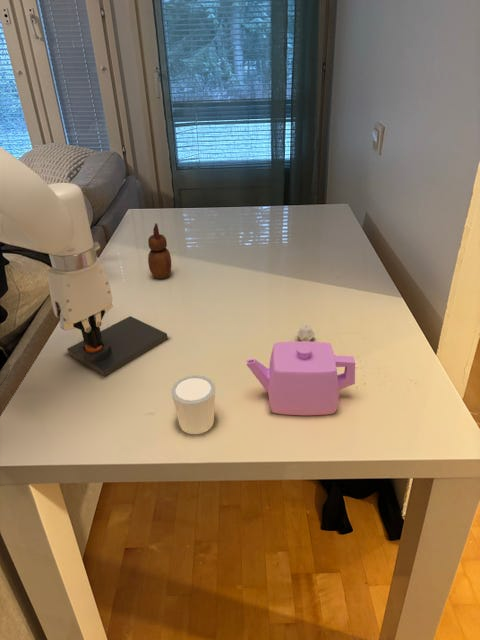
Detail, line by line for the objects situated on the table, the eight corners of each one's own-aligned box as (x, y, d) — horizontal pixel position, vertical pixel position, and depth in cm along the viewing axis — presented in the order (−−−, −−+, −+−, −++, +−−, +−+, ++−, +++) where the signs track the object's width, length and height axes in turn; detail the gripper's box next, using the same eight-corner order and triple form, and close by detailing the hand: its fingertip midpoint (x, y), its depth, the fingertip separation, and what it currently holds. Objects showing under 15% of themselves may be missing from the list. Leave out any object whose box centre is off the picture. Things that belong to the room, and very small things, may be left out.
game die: (296, 344, 94) (296, 331, 93) (297, 334, 97) (298, 322, 96) (313, 345, 94) (314, 333, 92) (314, 335, 97) (315, 323, 95)
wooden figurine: (171, 280, 121) (165, 225, 113) (149, 281, 121) (141, 226, 113) (173, 269, 127) (167, 216, 119) (152, 270, 127) (144, 217, 119)
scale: (102, 378, 87) (99, 365, 85) (66, 355, 93) (62, 343, 92) (167, 339, 97) (166, 326, 96) (131, 321, 104) (129, 309, 102)
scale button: (93, 359, 89) (91, 351, 88) (83, 353, 91) (81, 345, 90) (106, 351, 91) (105, 344, 90) (97, 346, 93) (95, 338, 92)
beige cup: (216, 437, 73) (213, 403, 69) (172, 437, 73) (167, 403, 70) (219, 407, 79) (216, 374, 75) (178, 407, 79) (174, 375, 75)
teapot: (246, 416, 77) (245, 367, 71) (248, 377, 86) (247, 330, 80) (357, 418, 76) (364, 367, 70) (347, 377, 85) (353, 330, 79)
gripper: (96, 239, 88) (113, 322, 97) (22, 266, 78) (48, 355, 88) (121, 248, 83) (136, 334, 93) (46, 278, 74) (71, 370, 83)
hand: (94, 344), depth 90 cm, fingers closed
